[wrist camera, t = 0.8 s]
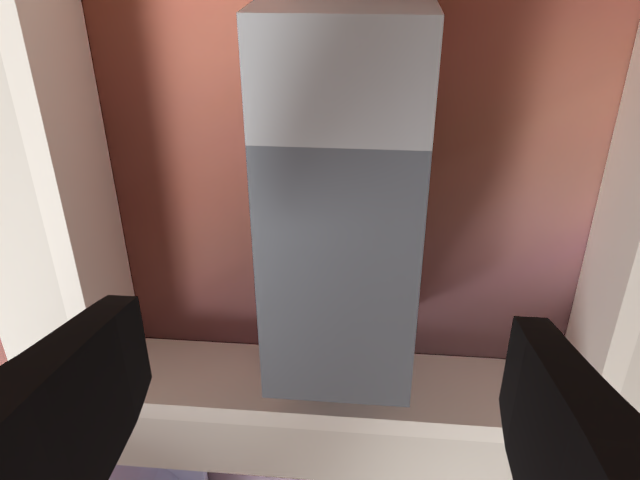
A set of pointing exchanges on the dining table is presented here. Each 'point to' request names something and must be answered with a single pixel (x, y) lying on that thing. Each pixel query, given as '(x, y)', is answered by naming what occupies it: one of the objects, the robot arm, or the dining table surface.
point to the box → (338, 190)
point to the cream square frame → (243, 359)
